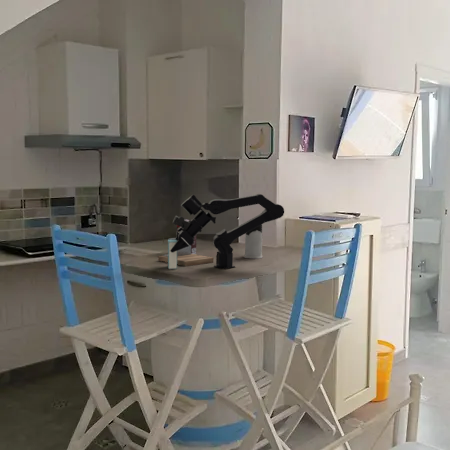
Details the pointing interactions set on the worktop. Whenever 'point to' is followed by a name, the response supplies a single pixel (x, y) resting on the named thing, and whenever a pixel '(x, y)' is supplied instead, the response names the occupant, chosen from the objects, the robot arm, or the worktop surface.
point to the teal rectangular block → (172, 255)
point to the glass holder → (253, 243)
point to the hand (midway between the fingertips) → (170, 250)
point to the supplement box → (193, 246)
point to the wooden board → (189, 259)
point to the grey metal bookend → (182, 250)
